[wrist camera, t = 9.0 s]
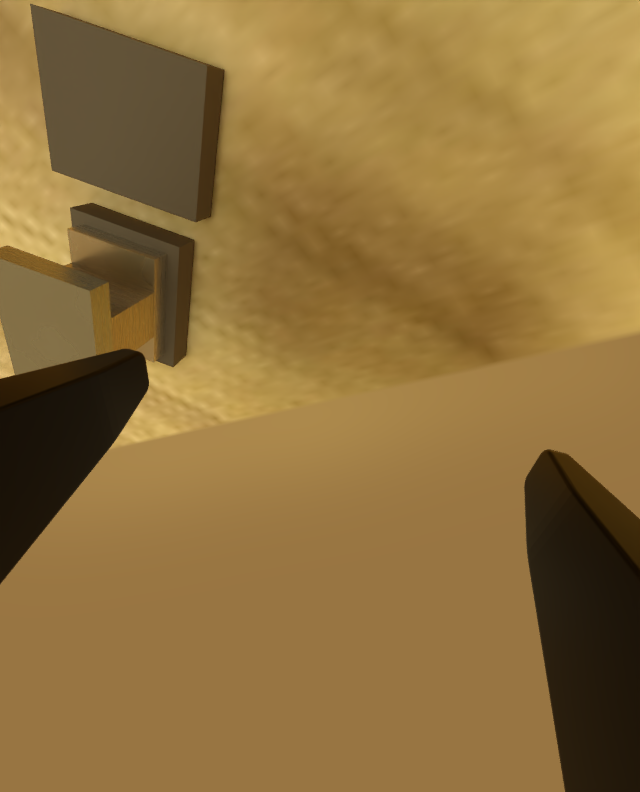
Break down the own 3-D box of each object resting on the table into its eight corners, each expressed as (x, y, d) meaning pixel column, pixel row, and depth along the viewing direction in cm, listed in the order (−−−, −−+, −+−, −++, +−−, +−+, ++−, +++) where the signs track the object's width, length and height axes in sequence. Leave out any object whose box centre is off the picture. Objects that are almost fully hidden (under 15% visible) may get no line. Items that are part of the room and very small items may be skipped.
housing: (167, 253, 20) (89, 291, 15) (164, 353, 23) (101, 406, 19) (83, 224, 20) (-18, 252, 15) (94, 327, 23) (14, 374, 19)
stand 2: (91, 203, 21) (70, 207, 19) (194, 240, 20) (179, 247, 19) (101, 323, 25) (84, 334, 24) (185, 355, 25) (173, 367, 24)
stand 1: (60, 12, 16) (30, 3, 15) (224, 69, 16) (207, 65, 15) (75, 167, 20) (51, 170, 19) (210, 216, 20) (195, 222, 18)
